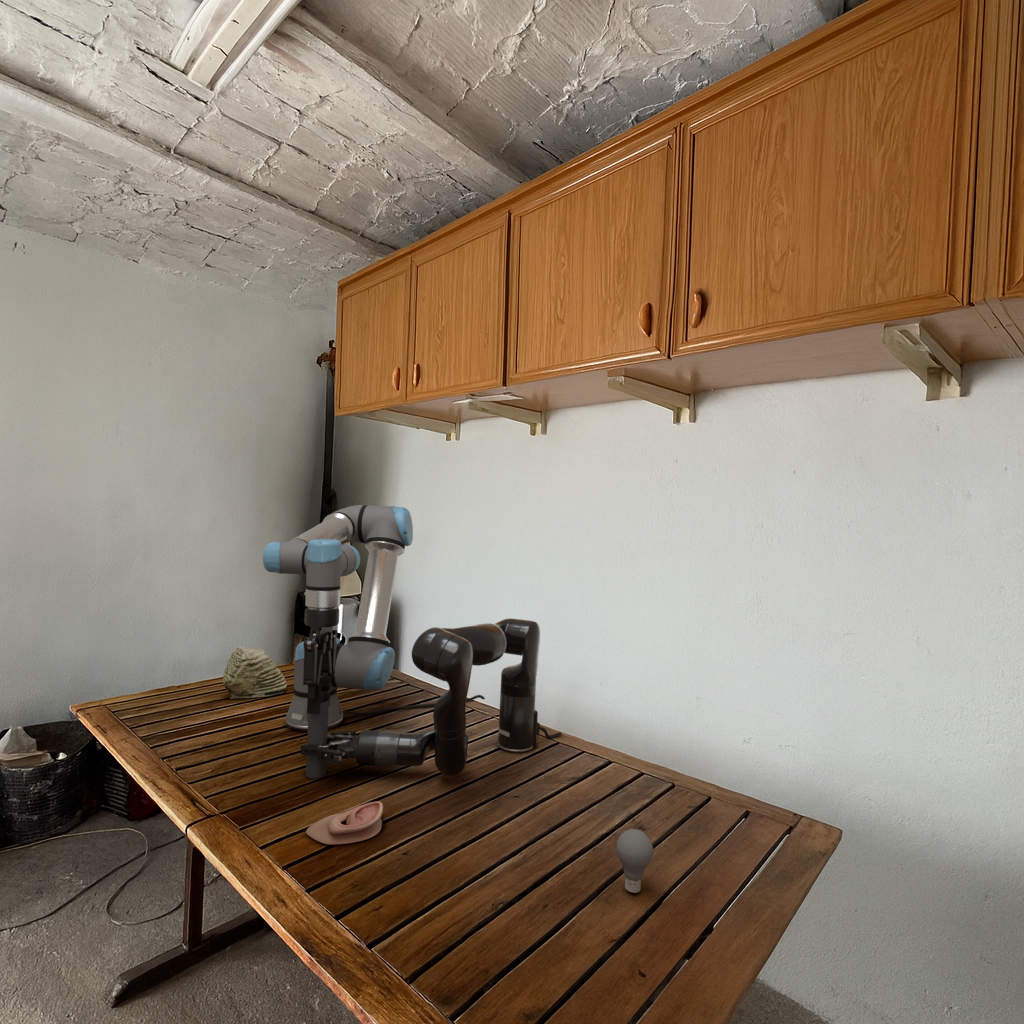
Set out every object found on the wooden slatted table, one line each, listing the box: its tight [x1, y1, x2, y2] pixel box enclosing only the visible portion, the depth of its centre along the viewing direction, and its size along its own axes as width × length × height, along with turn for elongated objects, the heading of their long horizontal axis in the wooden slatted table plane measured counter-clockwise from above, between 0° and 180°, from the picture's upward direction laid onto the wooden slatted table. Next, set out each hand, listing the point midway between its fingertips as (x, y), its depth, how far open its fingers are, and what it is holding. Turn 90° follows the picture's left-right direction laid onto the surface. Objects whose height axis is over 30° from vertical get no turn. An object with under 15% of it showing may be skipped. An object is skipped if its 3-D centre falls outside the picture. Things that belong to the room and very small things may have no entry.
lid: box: [320, 687, 330, 702], centre depth 144 cm, size 5×5×2 cm
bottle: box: [305, 699, 329, 779], centre depth 144 cm, size 4×4×19 cm
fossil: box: [222, 646, 288, 699], centre depth 198 cm, size 9×18×15 cm, turn 132°
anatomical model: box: [305, 800, 384, 846], centre depth 121 cm, size 13×4×12 cm
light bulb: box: [615, 828, 654, 894], centre depth 106 cm, size 6×6×10 cm
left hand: (318, 709), depth 144 cm, fingers closed on lid, 5 cm apart
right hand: (305, 745), depth 144 cm, fingers closed on bottle, 4 cm apart
